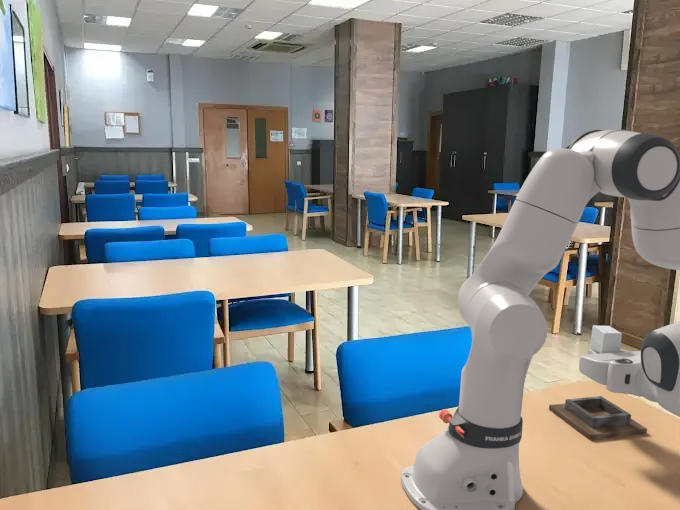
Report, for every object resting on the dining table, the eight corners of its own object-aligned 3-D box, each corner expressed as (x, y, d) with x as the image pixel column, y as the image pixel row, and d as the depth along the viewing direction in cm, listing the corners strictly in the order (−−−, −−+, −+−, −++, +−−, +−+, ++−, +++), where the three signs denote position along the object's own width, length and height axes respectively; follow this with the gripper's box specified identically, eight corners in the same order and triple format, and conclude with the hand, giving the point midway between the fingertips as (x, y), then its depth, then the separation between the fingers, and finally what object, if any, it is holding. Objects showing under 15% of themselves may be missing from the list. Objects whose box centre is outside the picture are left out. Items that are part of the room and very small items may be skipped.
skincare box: (617, 384, 129) (623, 333, 126) (598, 383, 128) (604, 333, 126) (604, 373, 134) (609, 325, 132) (586, 373, 134) (591, 324, 132)
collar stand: (589, 440, 125) (591, 424, 124) (548, 409, 139) (550, 395, 138) (646, 433, 128) (648, 418, 128) (601, 404, 143) (602, 391, 142)
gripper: (689, 357, 120) (640, 336, 133) (607, 363, 115) (565, 341, 128) (685, 385, 121) (637, 362, 134) (604, 393, 116) (562, 367, 129)
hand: (601, 352), depth 131 cm, fingers closed on skincare box, 5 cm apart
